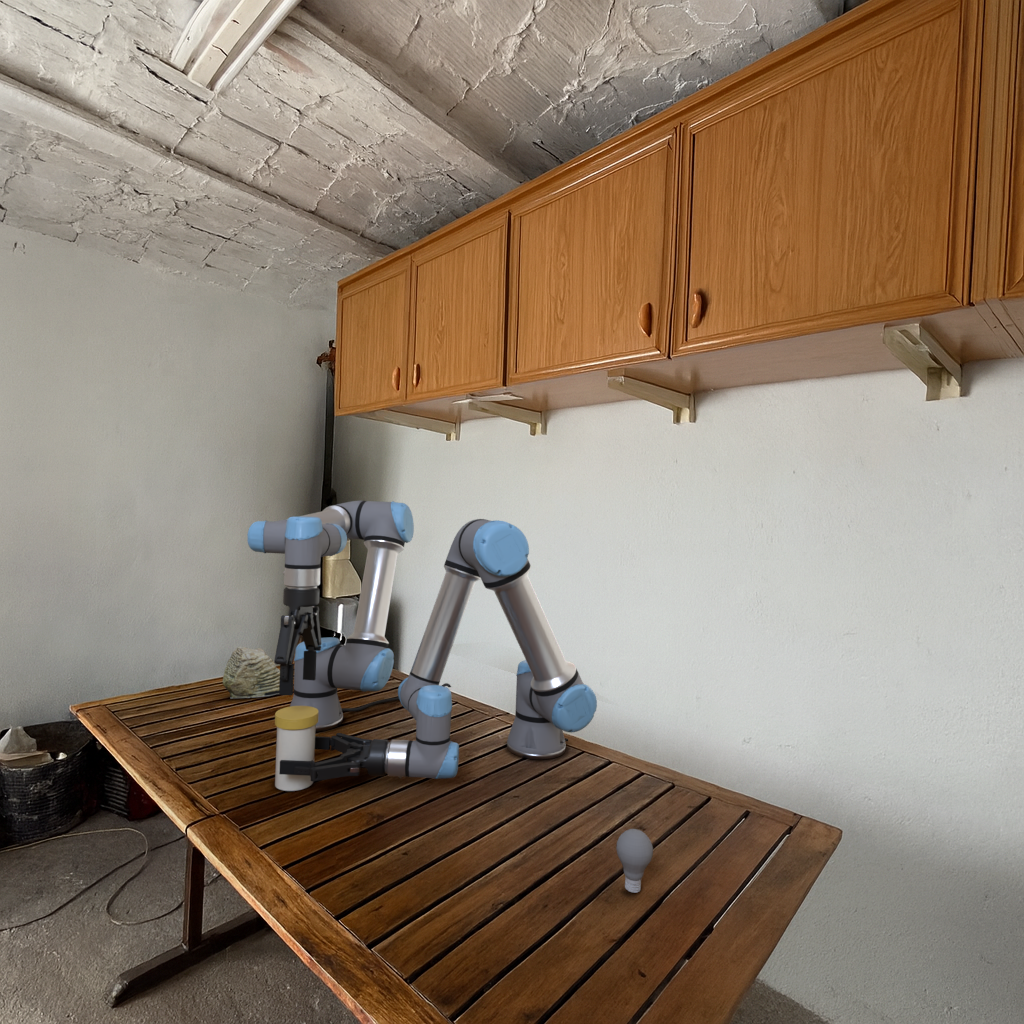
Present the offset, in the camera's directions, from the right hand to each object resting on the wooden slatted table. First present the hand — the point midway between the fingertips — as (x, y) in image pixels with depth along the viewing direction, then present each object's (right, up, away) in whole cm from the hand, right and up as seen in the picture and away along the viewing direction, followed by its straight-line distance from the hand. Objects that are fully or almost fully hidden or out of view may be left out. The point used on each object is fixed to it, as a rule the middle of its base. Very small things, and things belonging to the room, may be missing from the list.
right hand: (291, 754), depth 139 cm
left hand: (+1, +15, 0) cm, 15 cm away
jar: (0, -7, +1) cm, 7 cm away
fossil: (-32, -4, +59) cm, 67 cm away
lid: (+1, +9, +1) cm, 9 cm away
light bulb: (+69, -10, -33) cm, 77 cm away
